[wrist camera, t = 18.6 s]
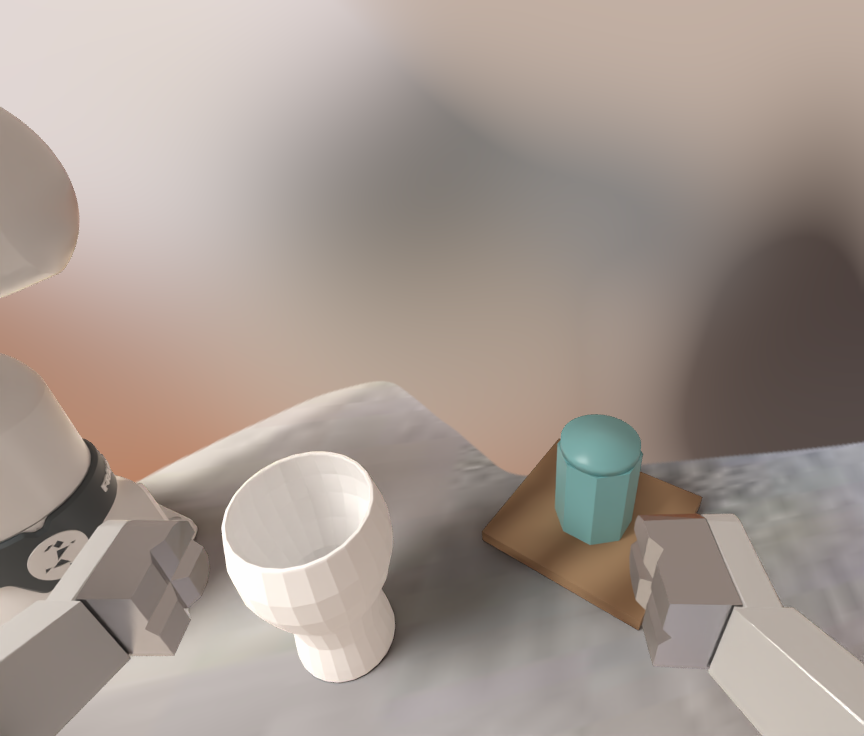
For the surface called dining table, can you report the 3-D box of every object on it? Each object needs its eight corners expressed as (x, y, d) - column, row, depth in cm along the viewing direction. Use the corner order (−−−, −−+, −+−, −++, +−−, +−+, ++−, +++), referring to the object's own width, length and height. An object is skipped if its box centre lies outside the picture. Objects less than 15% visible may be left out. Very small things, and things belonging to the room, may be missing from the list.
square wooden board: (482, 539, 47) (479, 500, 44) (558, 446, 55) (560, 408, 52) (638, 630, 39) (647, 590, 36) (699, 506, 48) (711, 465, 45)
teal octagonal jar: (544, 521, 47) (546, 447, 41) (576, 478, 50) (582, 405, 45) (610, 555, 43) (621, 479, 38) (639, 507, 47) (653, 431, 42)
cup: (441, 624, 41) (418, 495, 33) (332, 740, 36) (269, 621, 27) (356, 549, 48) (318, 424, 39) (253, 636, 42) (181, 513, 33)
